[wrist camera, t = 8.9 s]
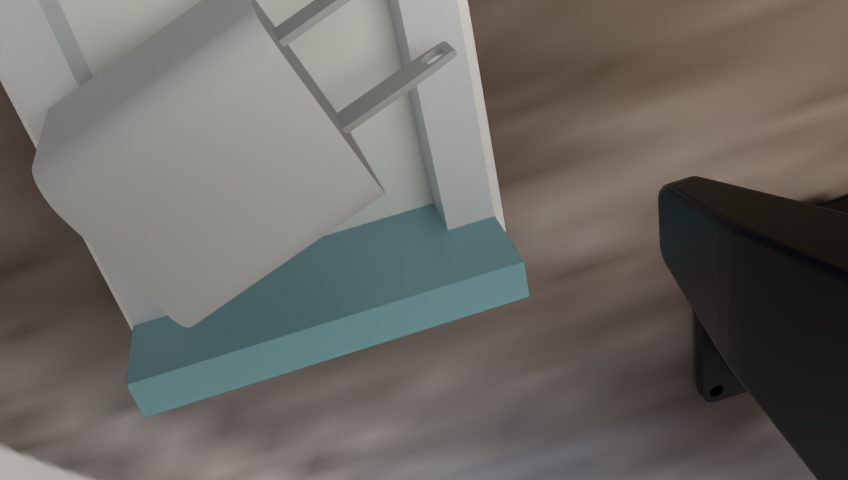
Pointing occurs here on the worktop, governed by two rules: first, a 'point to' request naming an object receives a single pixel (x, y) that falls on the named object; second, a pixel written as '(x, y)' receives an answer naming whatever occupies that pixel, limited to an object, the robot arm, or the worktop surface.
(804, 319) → the robot arm
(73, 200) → the usb wall charger
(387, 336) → the end holder
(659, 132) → the worktop surface
